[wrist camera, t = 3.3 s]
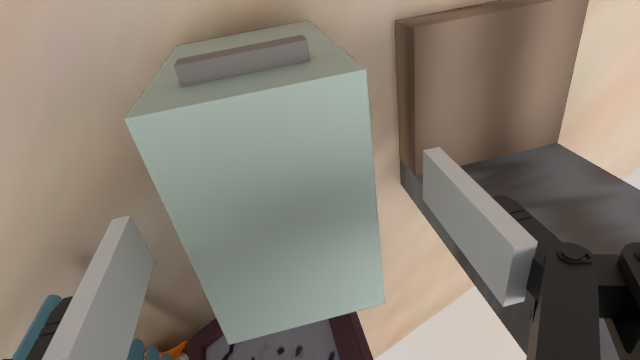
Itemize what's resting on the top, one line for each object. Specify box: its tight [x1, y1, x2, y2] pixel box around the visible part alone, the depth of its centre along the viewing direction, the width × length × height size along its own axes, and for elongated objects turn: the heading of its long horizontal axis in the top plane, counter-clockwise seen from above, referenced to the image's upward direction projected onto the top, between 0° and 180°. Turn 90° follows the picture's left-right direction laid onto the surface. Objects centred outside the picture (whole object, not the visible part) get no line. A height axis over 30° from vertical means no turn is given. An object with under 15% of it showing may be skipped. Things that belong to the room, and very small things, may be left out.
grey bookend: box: [395, 0, 640, 360], centre depth 20 cm, size 11×12×18 cm
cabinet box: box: [124, 20, 385, 345], centre depth 20 cm, size 8×13×12 cm, turn 9°
